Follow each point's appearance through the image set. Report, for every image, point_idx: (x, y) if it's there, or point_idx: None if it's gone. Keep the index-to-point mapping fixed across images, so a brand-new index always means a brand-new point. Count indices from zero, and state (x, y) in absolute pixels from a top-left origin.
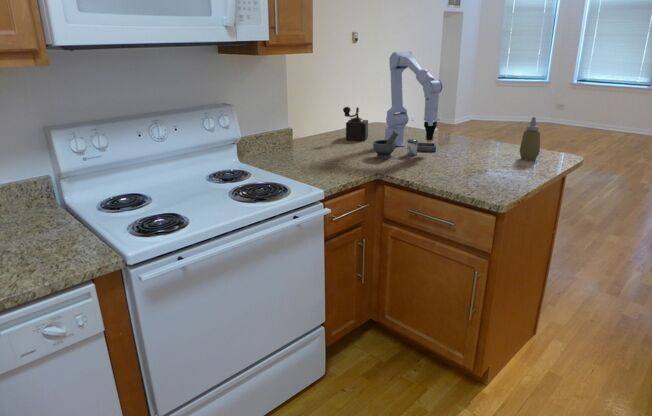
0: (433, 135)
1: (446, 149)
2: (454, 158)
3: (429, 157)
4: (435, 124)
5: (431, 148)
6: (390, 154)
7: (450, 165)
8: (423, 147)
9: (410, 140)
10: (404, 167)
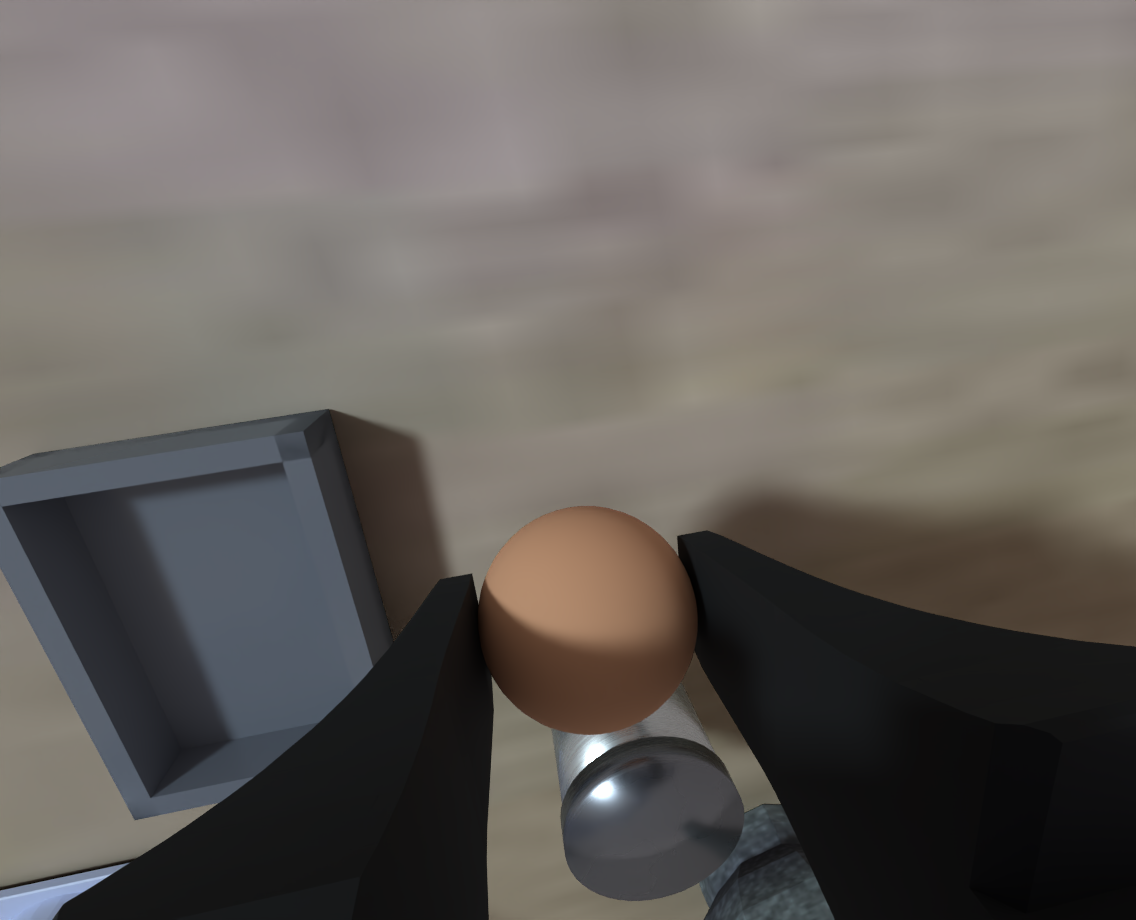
0: (609, 565)
1: (48, 247)
2: (688, 40)
3: (693, 436)
4: (394, 853)
5: (333, 489)
6: (780, 838)
7: (1092, 84)
8: (364, 610)
9: (690, 853)
10: (1130, 596)
